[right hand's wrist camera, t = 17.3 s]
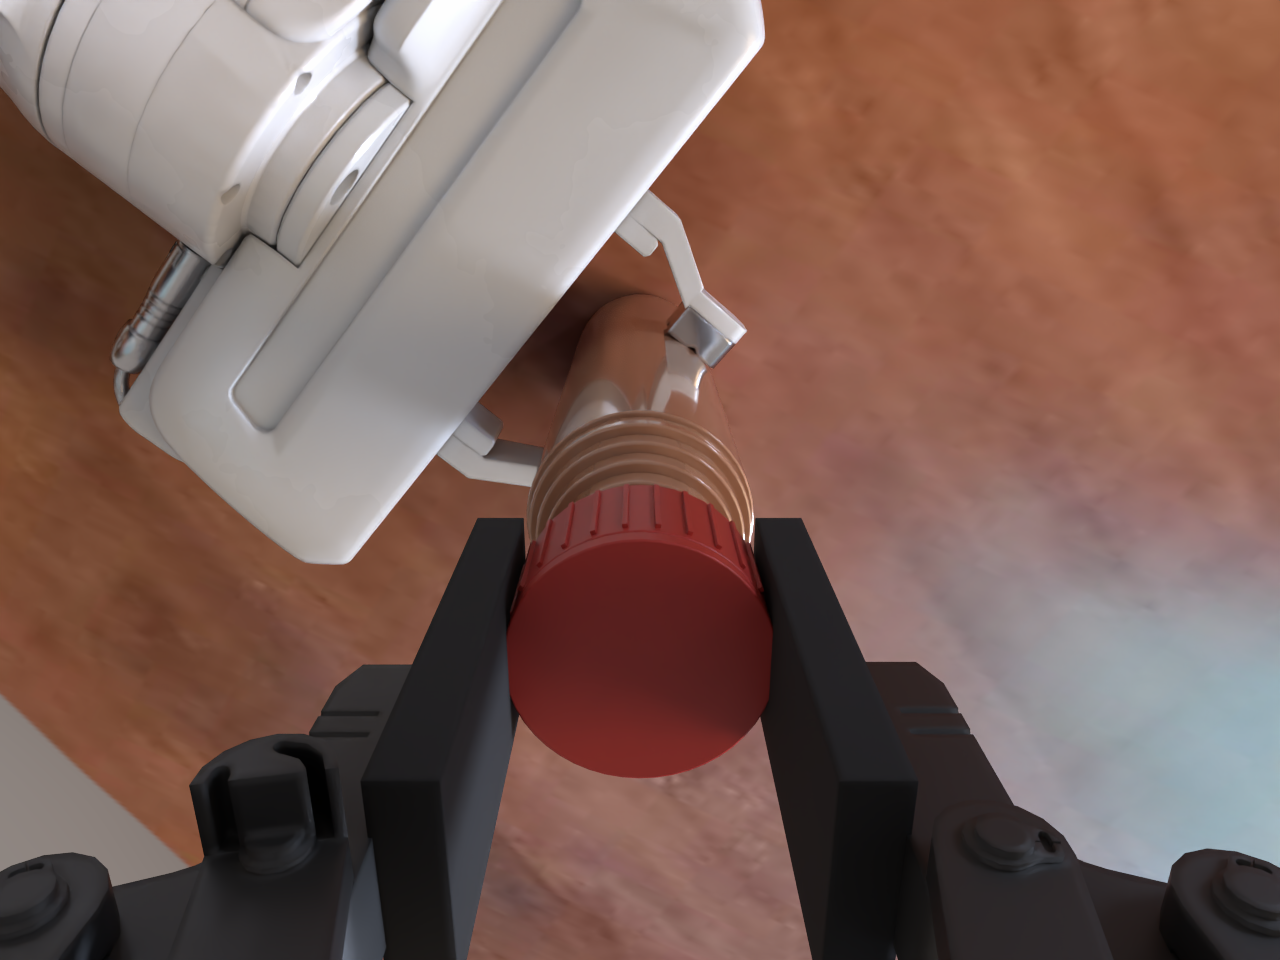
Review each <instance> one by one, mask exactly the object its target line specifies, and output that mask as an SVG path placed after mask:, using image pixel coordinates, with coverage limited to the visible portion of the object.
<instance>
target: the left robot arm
mask: <svg viewBox="0 0 1280 960" xmlns="http://www.w3.org/2000/svg"><path fill="white" fill-rule="evenodd" d="M764 40H765V29H764V19H763V11H762V5H761V0H0V87H1V88H2V89H3V90H4V92H5V93H6V94H7V95H8V96H9V97H10V99H11V100H12V101H13V103H14V104H15V105H16V106H17V108H18V109H19V110H20V112H21V113H22V114H23V116H24V117H25V118H26V119H27V120H28V121H29V123H30V124H31V125H32V126H33V127H34V128H35V129H36V130H37V131H38V132H39V133H40V134H41V135H42V136H43V137H44V138H46V139H47V140H48V141H49V142H50V143H51V144H52V145H54V146H55V147H56V148H58V149H60V150H61V151H62V152H64V153H65V154H66V155H68V156H69V157H70V158H72V159H73V160H74V161H76V162H77V163H78V164H79V165H81V166H82V167H83V168H85V169H86V170H87V171H89V172H90V173H91V174H93V175H94V176H95V177H97V178H98V179H99V180H101V181H102V182H103V183H105V184H106V185H107V186H109V187H110V188H111V189H113V190H114V191H115V192H116V193H118V194H119V195H120V196H122V197H123V198H124V199H126V200H127V201H128V202H130V203H131V204H132V205H134V206H135V207H136V208H138V209H139V210H140V211H141V212H143V213H144V214H145V215H147V216H148V217H149V218H151V219H152V220H153V221H155V222H156V223H157V224H159V225H160V226H161V227H163V228H164V229H165V230H167V231H168V232H169V233H171V234H172V235H173V236H175V237H176V238H177V239H178V240H177V241H176V242H175V244H174V245H173V247H172V248H171V250H170V253H169V254H168V256H167V257H166V259H165V260H164V262H163V264H162V265H161V267H160V268H159V270H158V271H157V273H156V275H155V277H154V278H153V280H152V282H151V284H150V287H149V289H148V291H147V293H146V296H145V298H144V300H143V302H142V303H141V305H140V307H139V309H138V310H137V312H136V313H135V315H134V317H133V318H132V319H129V320H128V321H127V322H126V323H125V324H124V325H123V327H122V328H121V329H120V331H119V332H118V334H117V336H116V338H115V340H114V342H113V344H112V347H111V350H110V354H109V359H110V361H111V362H112V364H113V365H114V366H115V367H116V368H115V373H114V379H113V382H114V392H115V396H116V400H117V402H118V405H119V412H120V415H121V416H122V418H123V419H124V421H125V422H126V423H127V424H128V425H129V426H130V427H131V428H132V429H133V430H135V431H136V432H137V433H139V434H140V435H141V436H143V437H144V438H146V439H147V440H149V441H150V442H152V443H153V444H154V445H156V446H157V447H159V448H160V449H162V450H163V451H165V452H166V453H167V454H169V455H170V456H172V457H174V458H175V459H177V460H179V461H182V462H184V463H185V464H186V465H187V466H188V467H189V468H190V469H191V470H192V471H193V472H194V473H195V474H196V475H197V476H198V477H199V478H201V479H202V480H203V481H204V482H205V483H206V484H207V485H208V486H209V487H210V488H211V489H212V490H213V491H214V492H215V493H217V494H218V495H219V496H220V497H221V498H222V499H223V500H224V501H225V502H227V503H228V504H229V505H230V506H231V507H232V508H234V509H235V510H236V511H237V512H238V513H239V514H241V515H242V516H243V517H244V518H245V519H246V520H248V521H249V522H250V523H251V524H252V525H254V526H255V527H256V528H257V529H258V530H260V531H261V532H262V533H263V534H265V535H266V536H267V537H268V538H270V539H271V540H272V541H274V542H275V543H276V544H277V545H279V546H280V547H281V548H283V549H284V550H285V551H287V552H288V553H290V554H291V555H293V556H294V557H295V558H297V559H299V560H301V561H303V562H306V563H312V564H346V563H348V562H350V561H351V560H352V559H353V557H354V556H355V555H356V554H357V552H358V551H359V550H360V549H361V547H362V546H363V545H364V544H365V542H366V541H367V540H368V539H369V537H370V536H371V535H372V534H373V532H374V531H375V530H376V529H377V527H378V526H379V525H380V524H381V522H382V521H383V520H384V519H385V517H386V516H387V515H388V514H389V512H390V511H391V510H392V509H393V507H394V506H395V505H396V504H397V502H398V501H399V500H400V499H401V497H402V496H403V495H404V494H405V492H406V491H407V490H408V489H409V487H410V486H411V485H412V484H413V482H414V481H415V480H416V479H417V477H418V476H419V475H420V474H421V472H422V471H423V470H424V469H425V467H426V466H427V465H428V464H429V462H430V461H431V460H432V459H433V457H434V456H435V455H436V454H437V455H438V456H439V457H441V458H442V459H443V460H445V461H446V462H447V463H449V464H450V465H451V466H453V467H454V468H455V469H457V470H458V471H459V472H461V473H462V474H463V475H465V476H466V477H467V478H471V479H478V480H485V481H492V482H500V483H507V484H514V485H521V486H528V487H531V485H532V482H533V479H534V476H535V473H536V470H537V467H538V464H539V460H540V457H541V454H542V451H543V447H538V446H533V445H527V444H522V443H517V442H512V441H507V440H502V439H497V438H498V436H499V434H500V432H501V430H502V428H503V421H502V420H500V419H499V418H498V417H496V416H495V415H494V414H493V413H491V412H490V411H489V410H488V409H486V408H485V407H484V406H483V405H481V404H480V403H479V402H478V401H479V400H480V399H481V397H482V396H483V395H484V394H485V392H486V391H487V390H488V389H489V387H490V386H491V385H492V384H493V382H494V381H495V380H496V379H497V377H498V376H499V375H500V374H501V372H502V371H503V370H504V369H505V367H506V366H507V365H508V364H509V362H510V361H511V360H512V359H513V357H514V356H515V355H516V354H517V352H518V351H519V350H520V349H521V347H522V346H523V345H524V344H525V342H526V341H527V340H528V339H529V337H530V336H531V335H532V334H533V332H534V331H535V330H536V329H537V327H538V326H539V325H540V324H541V322H542V321H543V320H544V319H545V317H546V316H547V315H548V314H549V312H550V311H551V310H552V309H553V307H554V306H555V305H556V304H557V302H558V301H559V300H560V299H561V297H562V296H563V295H564V294H565V292H566V291H567V290H568V289H569V287H570V286H571V285H572V284H573V282H574V281H575V280H576V279H577V277H578V276H579V275H580V274H581V272H582V271H583V270H584V269H585V267H586V266H587V265H588V264H589V262H590V261H591V260H592V259H593V257H594V256H595V255H596V254H597V252H598V251H599V250H600V249H601V247H602V246H603V245H604V244H605V242H606V241H607V240H608V239H609V237H610V236H611V235H612V234H613V232H615V233H616V234H618V235H619V236H620V237H621V238H622V239H623V240H625V241H626V242H627V243H628V244H629V245H631V246H632V247H633V248H634V249H635V250H636V251H638V252H639V253H640V254H641V255H642V256H644V257H645V256H650V255H651V254H652V252H653V251H654V250H655V249H656V247H657V246H658V241H657V240H659V241H660V242H661V243H662V245H663V248H664V250H665V253H666V256H667V259H668V262H669V265H670V267H671V270H672V273H673V276H674V279H675V282H676V284H677V287H678V290H679V293H680V296H681V298H682V302H681V303H680V305H679V306H678V307H677V308H676V310H675V311H674V312H673V313H672V315H671V316H670V317H669V318H668V319H667V321H666V325H667V326H668V327H667V331H668V333H670V334H671V335H672V336H673V337H674V338H675V339H677V340H678V341H679V342H680V343H681V344H683V345H685V346H686V347H692V348H695V351H696V354H697V356H698V357H699V358H700V359H701V360H702V361H703V362H704V363H705V364H706V365H708V366H709V367H711V368H714V367H715V366H716V365H717V364H718V363H719V362H720V361H721V360H722V358H723V357H724V356H725V355H726V354H727V353H728V352H729V351H730V350H731V349H732V347H733V346H734V345H735V344H736V343H737V342H738V341H739V339H740V338H741V337H742V336H743V335H744V334H745V333H746V332H747V330H746V328H745V327H744V325H743V324H742V323H741V322H740V321H739V320H738V319H737V318H736V317H735V316H734V315H733V314H732V313H731V312H730V311H729V310H728V309H726V308H725V307H724V306H723V305H722V304H721V303H719V302H718V301H717V300H716V299H715V298H714V297H713V296H711V295H710V294H709V293H708V292H707V291H706V290H704V289H703V288H704V287H703V284H702V281H701V278H700V275H699V272H698V269H697V266H696V263H695V260H694V258H693V255H692V252H691V249H690V246H689V243H688V240H687V237H686V234H685V231H684V228H683V225H682V222H681V220H680V218H679V216H678V215H677V214H676V213H675V212H674V211H673V210H671V209H670V208H669V207H668V206H667V205H666V204H665V203H664V202H662V201H661V200H660V199H659V198H658V197H657V196H656V195H654V194H653V193H652V192H651V191H650V190H649V187H650V186H651V185H652V184H653V182H654V181H655V180H656V179H657V177H658V176H659V175H660V174H661V172H662V171H663V170H664V169H665V167H666V166H667V165H668V164H669V162H670V161H671V160H672V159H673V157H674V156H675V155H676V154H677V152H678V151H679V150H680V149H681V147H682V146H683V145H684V144H685V142H686V141H687V140H688V139H689V137H690V136H691V135H692V134H693V132H694V131H695V130H696V129H697V127H698V126H699V125H700V124H701V122H702V121H703V120H704V119H705V117H706V116H707V115H708V114H709V112H710V111H711V110H712V108H713V107H714V106H715V105H716V103H717V102H718V101H719V100H720V98H721V97H722V96H723V95H724V93H725V92H726V91H727V90H728V88H729V87H730V86H731V85H732V83H733V82H734V81H735V80H736V78H737V77H738V76H739V75H740V73H741V72H742V71H743V70H744V68H745V67H746V66H747V65H748V63H749V62H750V61H751V60H752V58H753V57H754V56H755V55H756V53H757V52H758V51H759V50H760V48H761V47H762V46H763V43H764ZM139 373H140V374H139ZM130 374H139V376H138V377H137V379H136V380H135V382H134V383H133V385H132V386H131V388H130V387H129V378H130Z"/></svg>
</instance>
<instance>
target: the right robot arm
mask: <svg viewBox="0 0 1280 960" xmlns="http://www.w3.org/2000/svg"><path fill="white" fill-rule="evenodd" d="M754 558H755V561H756V564H757V568H758V571H759V575H760V578H761V582H762V585H763V589H764V592H763V594H764V598H765V601H766V605H767V608H768V612H769V615H770V619H771V622H772V626H773V638H772V655H771V672H770V689H769V701H768V703H767V705H766V707H765V709H764V711H763V713H762V714H761V716H760V717H761V722H762V727H763V731H764V736H765V741H766V745H767V750H768V755H769V759H770V764H771V769H772V773H773V778H774V783H775V787H776V792H777V797H778V801H779V806H780V811H781V815H782V820H783V825H784V829H785V834H786V839H787V843H788V848H789V853H790V857H791V862H792V867H793V871H794V876H795V880H796V885H797V890H798V894H799V899H800V904H801V908H802V913H803V918H804V922H805V927H806V932H807V936H808V941H809V946H810V950H811V955H812V960H895V958H896V955H897V958H898V960H1280V868H1279V867H1277V866H1275V865H1273V864H1271V863H1269V862H1267V861H1264V860H1261V859H1258V858H1255V857H1251V856H1248V855H1245V854H1242V853H1239V852H1235V851H1226V850H1216V849H1203V850H1198V851H1194V852H1189V853H1185V854H1184V855H1183V856H1182V857H1180V858H1179V859H1178V860H1177V861H1176V862H1175V863H1174V864H1173V865H1172V868H1171V872H1170V876H1169V879H1168V883H1164V882H1160V881H1155V880H1151V879H1147V878H1143V877H1138V876H1134V875H1130V874H1125V873H1121V872H1117V871H1113V870H1108V869H1105V868H1102V867H1099V866H1095V865H1092V864H1089V863H1086V862H1083V861H1081V860H1079V859H1077V857H1076V855H1075V853H1074V852H1073V850H1072V848H1071V847H1070V845H1069V844H1068V842H1067V840H1066V839H1065V837H1064V836H1063V835H1062V834H1061V833H1060V832H1058V831H1057V830H1056V829H1055V828H1054V827H1052V826H1051V825H1050V824H1049V823H1048V822H1046V821H1045V820H1044V819H1042V818H1040V817H1038V816H1036V815H1034V814H1032V813H1030V812H1028V811H1026V810H1024V809H1022V808H1020V807H1018V806H1014V804H1013V803H1012V801H1011V799H1010V798H1009V796H1008V794H1007V792H1006V791H1005V789H1004V787H1003V785H1002V784H1001V782H1000V780H999V778H998V777H997V775H996V773H995V772H994V770H993V768H992V766H991V765H990V763H989V761H988V759H987V758H986V756H985V754H984V752H983V751H982V749H981V747H980V746H979V744H978V742H977V740H976V739H975V737H974V735H973V734H970V728H969V726H968V725H967V723H966V721H965V720H964V718H963V716H962V714H961V713H958V707H957V706H956V704H955V702H954V700H953V699H952V697H951V695H950V694H949V692H948V690H947V688H946V687H945V685H944V683H942V682H941V681H940V680H939V679H937V678H936V677H935V676H933V675H932V674H931V673H929V672H928V671H927V670H926V669H924V668H923V667H922V666H920V665H919V664H918V663H917V662H865V660H864V658H863V655H862V653H861V651H860V649H859V646H858V644H857V642H856V640H855V637H854V635H853V633H852V631H851V628H850V626H849V624H848V622H847V619H846V617H845V615H844V613H843V611H842V608H841V606H840V604H839V602H838V599H837V597H836V595H835V593H834V590H833V588H832V586H831V584H830V581H829V579H828V577H827V575H826V572H825V570H824V568H823V566H822V563H821V561H820V559H819V557H818V555H817V552H816V550H815V548H814V546H813V543H812V541H811V539H810V537H809V534H808V532H807V530H806V528H805V525H804V523H803V521H802V519H801V518H755V538H754ZM525 561H526V559H525V538H524V518H478V519H477V521H476V523H475V525H474V528H473V530H472V532H471V534H470V536H469V539H468V541H467V543H466V545H465V548H464V550H463V552H462V554H461V557H460V559H459V561H458V563H457V566H456V568H455V570H454V572H453V575H452V577H451V579H450V581H449V583H448V586H447V588H446V590H445V592H444V595H443V597H442V599H441V601H440V604H439V606H438V608H437V610H436V613H435V615H434V617H433V619H432V622H431V624H430V626H429V628H428V630H427V633H426V635H425V637H424V639H423V642H422V644H421V646H420V648H419V651H418V653H417V655H416V657H415V660H414V662H413V664H412V665H362V666H361V667H360V668H358V669H357V670H356V671H355V672H353V673H352V674H351V675H349V676H348V677H347V678H346V679H344V680H343V681H342V682H340V683H339V684H338V685H337V686H335V688H334V690H333V692H332V693H331V695H330V697H329V699H328V700H327V702H326V704H325V706H324V707H323V709H322V711H321V716H318V718H317V720H316V721H315V723H314V725H313V727H312V728H311V730H310V732H309V735H305V734H275V735H271V736H266V737H261V738H257V739H252V740H249V741H247V742H244V743H242V744H240V745H237V746H235V747H233V748H231V749H228V750H226V751H224V752H222V753H221V754H220V755H218V756H217V757H216V758H214V759H213V760H211V761H210V762H209V763H207V764H206V765H205V766H203V767H202V768H201V770H200V771H199V772H198V774H197V775H196V777H195V778H194V779H193V781H192V782H191V784H190V785H189V787H190V791H191V796H192V801H193V805H194V810H195V815H196V819H197V824H198V829H199V834H200V838H201V843H202V848H203V852H204V859H203V861H202V863H200V864H198V865H195V866H192V867H189V868H186V869H183V870H180V871H176V872H173V873H169V874H165V875H161V876H157V877H152V878H148V879H144V880H140V881H135V882H131V883H127V884H122V885H118V886H114V887H112V884H111V880H110V877H109V873H108V869H107V868H106V867H105V866H104V865H103V864H102V863H100V862H99V861H98V860H97V859H96V858H95V857H92V856H87V855H82V854H78V853H62V854H52V855H43V856H40V857H37V858H34V859H31V860H28V861H25V862H22V863H19V864H16V865H12V866H10V867H8V868H6V869H5V870H3V871H1V872H0V960H382V959H383V958H384V960H467V955H468V950H469V946H470V941H471V936H472V932H473V927H474V922H475V918H476V913H477V908H478V904H479V899H480V894H481V890H482V885H483V880H484V876H485V871H486V866H487V862H488V857H489V852H490V848H491V843H492V839H493V834H494V829H495V825H496V820H497V815H498V811H499V806H500V801H501V797H502V792H503V787H504V783H505V778H506V773H507V769H508V764H509V759H510V755H511V750H512V745H513V741H514V736H515V731H516V727H517V722H518V717H519V713H518V712H517V710H516V708H515V706H514V704H513V702H512V699H511V697H510V690H509V673H508V656H507V638H506V631H507V628H508V624H509V621H510V610H511V607H512V603H513V600H514V596H515V593H516V589H517V586H518V582H519V579H520V575H521V572H522V568H523V565H525Z"/></svg>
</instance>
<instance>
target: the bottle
mask: <svg viewBox="0 0 1280 960" xmlns="http://www.w3.org/2000/svg"><path fill="white" fill-rule="evenodd" d="M677 307H678V306H676V305H675V304H673V303H671V302H670V301H667V300H665V299H663V298H660V297H657V296H653V295H647V294H635V295H628V296H623V297H620V298H617V299H615V300H613V301H611V302H609V303H607V304H605V305H604V306H603V307H601V308H600V309H599V310H598V311H597V312H596V313H595V314H594V315H593V316H592V317H591V318H590V320H589V321H588V322H587V324H586V326H585V328H584V330H583V332H582V334H581V337H580V340H579V343H578V346H577V349H576V352H575V355H574V358H573V361H572V364H571V367H570V370H569V373H568V376H567V379H566V382H565V385H564V388H563V391H562V394H561V397H560V400H559V403H558V406H557V409H556V412H555V415H554V418H553V421H552V424H551V427H550V430H549V433H548V436H547V439H546V442H545V445H544V448H543V451H542V454H541V457H540V460H539V464H538V467H537V470H536V473H535V476H534V479H533V482H532V485H531V489H530V492H529V496H528V504H527V527H528V534H529V539H530V543H531V542H532V540H534V541H536V539H537V538H538V537H539V535H540V534H541V532H542V531H543V529H544V528H545V527H546V523H547V521H548V520H549V519H551V520H553V519H554V518H555V517H556V516H557V515H558V514H559V513H561V512H562V511H563V510H564V509H566V508H567V507H568V505H569V503H571V502H574V503H575V502H577V501H578V500H580V499H582V498H585V497H587V496H589V495H591V494H593V493H595V491H597V490H600V491H603V490H606V489H609V488H615V487H621V486H624V484H629V485H651V486H654V484H658V485H659V486H660V487H665V488H670V489H675V490H678V491H681V492H682V491H683V490H684V491H687V492H688V494H690V495H692V496H694V497H696V498H698V499H700V500H702V501H704V502H705V503H707V504H709V503H711V504H713V505H714V508H715V509H716V510H717V511H719V512H720V513H721V514H722V515H723V516H725V517H726V518H727V519H728V520H729V521H731V520H732V521H733V522H734V523H735V525H736V529H737V530H738V532H739V533H740V535H741V536H742V538H743V539H744V540H745V542H746V543H747V542H749V543H750V542H751V536H752V531H753V521H754V510H753V500H752V495H751V490H750V487H749V484H748V481H747V478H746V475H745V472H744V469H743V466H742V463H741V460H740V457H739V454H738V451H737V448H736V445H735V442H734V439H733V436H732V433H731V430H730V427H729V424H728V421H727V418H726V415H725V412H724V409H723V406H722V403H721V400H720V397H719V394H718V391H717V388H716V385H715V382H714V379H713V376H712V373H711V370H710V367H709V366H708V365H706V364H705V363H704V362H703V361H702V360H701V359H700V358H699V357H698V356H697V354H696V351H695V348H692V347H686V346H685V345H683V344H681V343H680V342H679V341H678V340H677V339H675V338H674V337H673V336H672V335H671V334H670V333H668V331H667V327H668V326H667V325H666V321H667V319H668V318H669V317H670V316H671V315H672V313H673V312H674V311H675V310H676V308H677Z"/></svg>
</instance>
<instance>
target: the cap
mask: <svg viewBox="0 0 1280 960" xmlns="http://www.w3.org/2000/svg"><path fill="white" fill-rule="evenodd" d="M763 592H764V589H763V585H762V582H761V578H760V575H759V571H758V568H757V564H756V561H755V558H754V554H753V551H752V547H751V544H750V543H749V542H747V543H746V542H745V540H744V539H743V538H742V536H741V535H740V533H739V532H738V530H737V529H736V525H735V523H734V522H733V521H732V520H731V521H729V520H728V519H727V518H726V517H725V516H723V515H722V514H721V513H720V512H719V511H717V510H716V509H715V508H714V505H713V504H711V503H709V504H707V503H705V502H704V501H702V500H700V499H698V498H696V497H694V496H692V495H690V494H688V492H687V491H684V490H683V491H682V492H681V491H678V490H675V489H670V488H665V487H660V486H659V485H658V484H654V486H651V485H629V484H624V486H621V487H615V488H609V489H606V490H603V491H600V490H597V491H595V493H593V494H591V495H589V496H587V497H585V498H582V499H580V500H578V501H577V502H575V503H574V502H571V503H569V505H568V507H567V508H566V509H564V510H563V511H562V512H561V513H559V514H558V515H557V516H556V517H555V518H554V519H553V520H551V519H549V520H548V521H547V523H546V527H545V528H544V529H543V531H542V532H541V534H540V535H539V537H538V538H537V539H536V541H534V540H532V542H531V543H530V547H529V550H528V554H527V557H526V561H525V565H523V568H522V572H521V575H520V579H519V582H518V586H517V589H516V593H515V596H514V600H513V603H512V607H511V610H510V621H509V624H508V628H507V631H506V638H507V656H508V673H509V690H510V697H511V699H512V702H513V704H514V706H515V708H516V710H517V712H518V713H519V715H520V716H521V718H522V720H523V721H524V723H525V724H526V725H527V726H528V728H529V729H530V730H531V731H532V732H533V734H534V735H535V736H536V737H537V738H538V739H540V740H541V741H542V742H543V743H544V744H545V745H546V746H547V747H549V748H550V749H551V750H553V751H554V752H556V753H557V754H558V755H560V756H562V757H563V758H565V759H567V760H569V761H571V762H572V763H574V764H577V765H579V766H582V767H584V768H586V769H589V770H592V771H596V772H599V773H603V774H607V775H612V776H618V777H628V778H654V777H662V776H668V775H674V774H678V773H681V772H685V771H689V770H691V769H694V768H696V767H699V766H701V765H704V764H706V763H708V762H710V761H712V760H713V759H715V758H717V757H719V756H721V755H722V754H723V753H725V752H726V751H728V750H729V749H731V748H732V747H733V746H734V745H735V744H737V743H738V742H739V741H740V740H741V739H742V738H743V737H744V736H745V735H746V734H747V733H748V732H749V731H750V729H751V728H752V727H753V726H754V725H755V723H756V722H757V720H758V719H759V717H760V716H761V714H762V713H763V711H764V709H765V707H766V705H767V703H768V701H769V689H770V672H771V655H772V638H773V626H772V622H771V619H770V615H769V612H768V608H767V605H766V601H765V598H764V594H763Z"/></svg>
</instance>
